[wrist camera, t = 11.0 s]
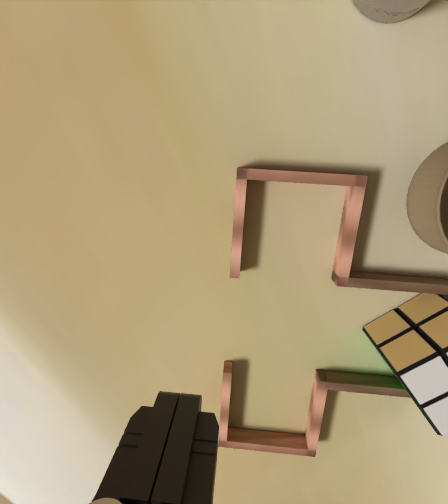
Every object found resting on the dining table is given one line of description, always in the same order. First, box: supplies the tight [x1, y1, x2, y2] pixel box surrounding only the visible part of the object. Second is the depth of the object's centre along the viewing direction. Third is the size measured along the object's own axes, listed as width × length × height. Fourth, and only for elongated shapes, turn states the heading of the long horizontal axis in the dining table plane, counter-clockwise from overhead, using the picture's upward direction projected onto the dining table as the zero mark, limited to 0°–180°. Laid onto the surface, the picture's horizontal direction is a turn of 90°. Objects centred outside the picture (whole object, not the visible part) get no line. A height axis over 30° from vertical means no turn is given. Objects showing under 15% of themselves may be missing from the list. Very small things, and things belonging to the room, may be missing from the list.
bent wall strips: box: [218, 168, 448, 457], centre depth 40 cm, size 40×36×2 cm
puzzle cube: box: [363, 293, 448, 436], centre depth 36 cm, size 10×10×10 cm
